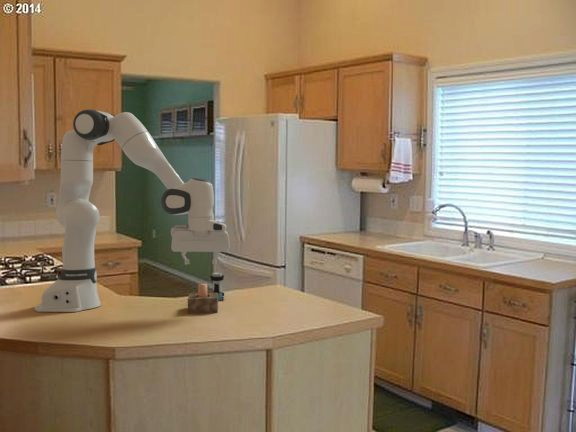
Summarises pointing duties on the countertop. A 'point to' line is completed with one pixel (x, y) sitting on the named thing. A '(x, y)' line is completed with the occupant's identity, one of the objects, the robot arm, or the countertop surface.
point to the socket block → (203, 303)
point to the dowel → (202, 290)
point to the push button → (218, 284)
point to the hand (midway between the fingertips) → (200, 264)
